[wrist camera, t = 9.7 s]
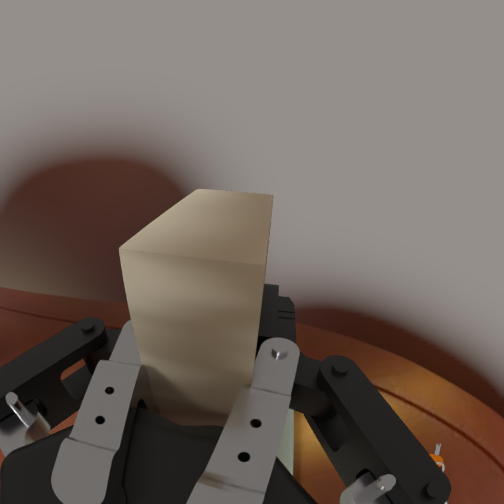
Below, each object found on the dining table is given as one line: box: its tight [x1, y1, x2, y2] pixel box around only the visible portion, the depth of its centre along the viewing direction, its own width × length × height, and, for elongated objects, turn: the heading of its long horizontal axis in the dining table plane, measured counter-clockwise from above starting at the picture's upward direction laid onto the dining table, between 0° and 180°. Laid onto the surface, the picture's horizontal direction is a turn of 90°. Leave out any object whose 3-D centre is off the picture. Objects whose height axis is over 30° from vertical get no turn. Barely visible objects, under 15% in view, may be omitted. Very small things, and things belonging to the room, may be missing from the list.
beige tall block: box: [119, 189, 273, 427], centre depth 10 cm, size 3×6×12 cm, turn 174°
